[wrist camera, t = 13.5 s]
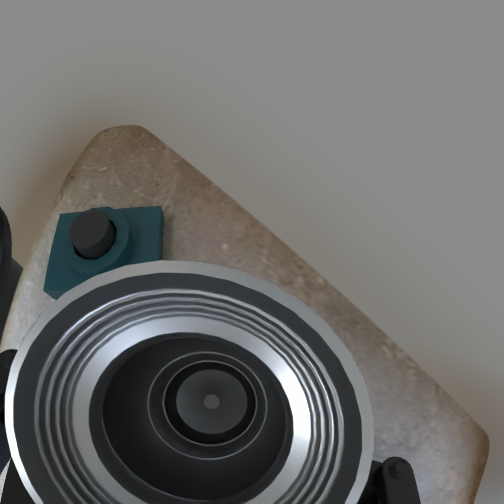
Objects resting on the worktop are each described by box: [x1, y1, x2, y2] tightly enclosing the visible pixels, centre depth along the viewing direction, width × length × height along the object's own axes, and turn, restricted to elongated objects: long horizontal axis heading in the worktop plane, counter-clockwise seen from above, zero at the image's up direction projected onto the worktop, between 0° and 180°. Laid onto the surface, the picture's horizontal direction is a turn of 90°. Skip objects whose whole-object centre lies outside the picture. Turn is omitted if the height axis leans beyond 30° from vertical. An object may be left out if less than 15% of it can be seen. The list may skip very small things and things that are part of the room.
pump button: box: [69, 209, 115, 259], centre depth 23 cm, size 4×4×2 cm
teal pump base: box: [43, 206, 164, 299], centre depth 25 cm, size 12×9×4 cm
